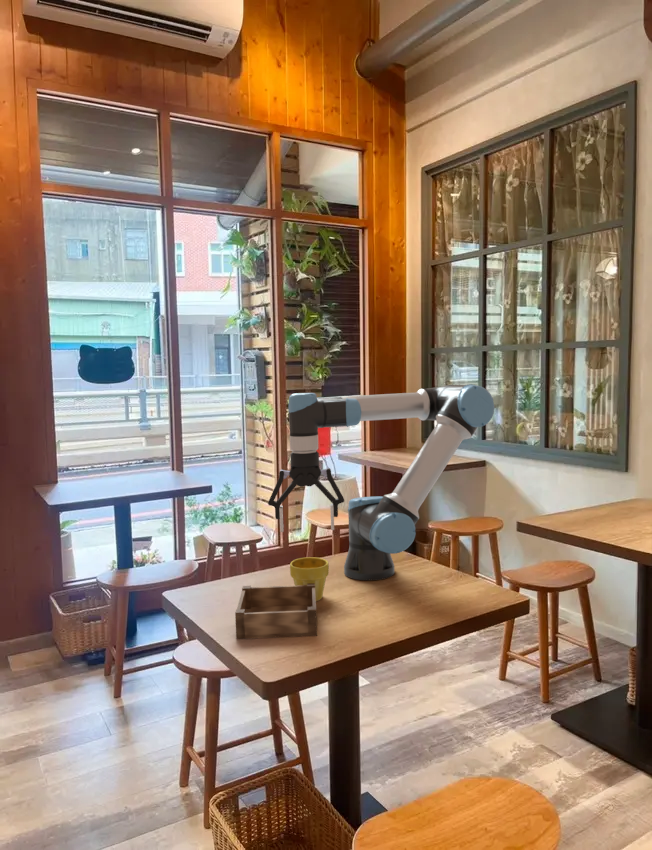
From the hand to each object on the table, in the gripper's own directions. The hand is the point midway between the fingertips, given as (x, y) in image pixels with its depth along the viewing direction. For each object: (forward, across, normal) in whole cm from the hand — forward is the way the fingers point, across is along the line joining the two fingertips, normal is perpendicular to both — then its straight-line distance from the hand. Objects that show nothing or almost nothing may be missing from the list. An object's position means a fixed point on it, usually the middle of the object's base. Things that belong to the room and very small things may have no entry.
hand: (307, 530), depth 173 cm
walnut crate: (+18, +8, +16) cm, 26 cm away
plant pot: (+19, 0, 0) cm, 19 cm away
